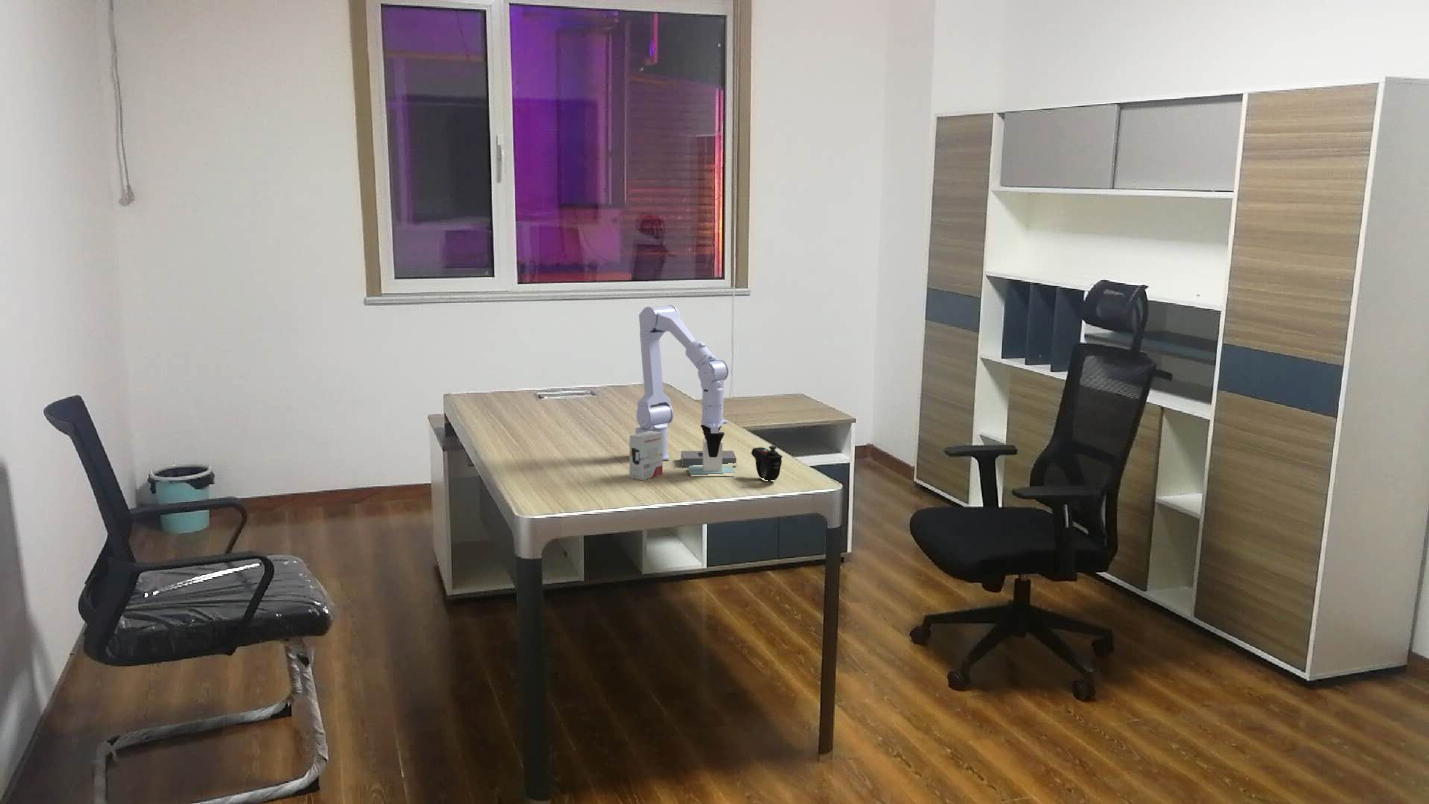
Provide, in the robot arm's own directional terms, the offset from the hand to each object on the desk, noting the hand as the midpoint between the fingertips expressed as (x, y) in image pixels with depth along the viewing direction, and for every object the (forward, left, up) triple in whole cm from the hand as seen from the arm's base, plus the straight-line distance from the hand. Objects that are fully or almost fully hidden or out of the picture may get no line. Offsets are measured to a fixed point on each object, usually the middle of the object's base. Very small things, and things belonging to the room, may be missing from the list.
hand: (711, 453), depth 300 cm
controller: (+14, -8, -6) cm, 17 cm away
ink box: (-18, -3, -6) cm, 19 cm away
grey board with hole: (0, +11, -5) cm, 12 cm away
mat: (0, 0, -5) cm, 5 cm away
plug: (0, 0, -4) cm, 4 cm away
